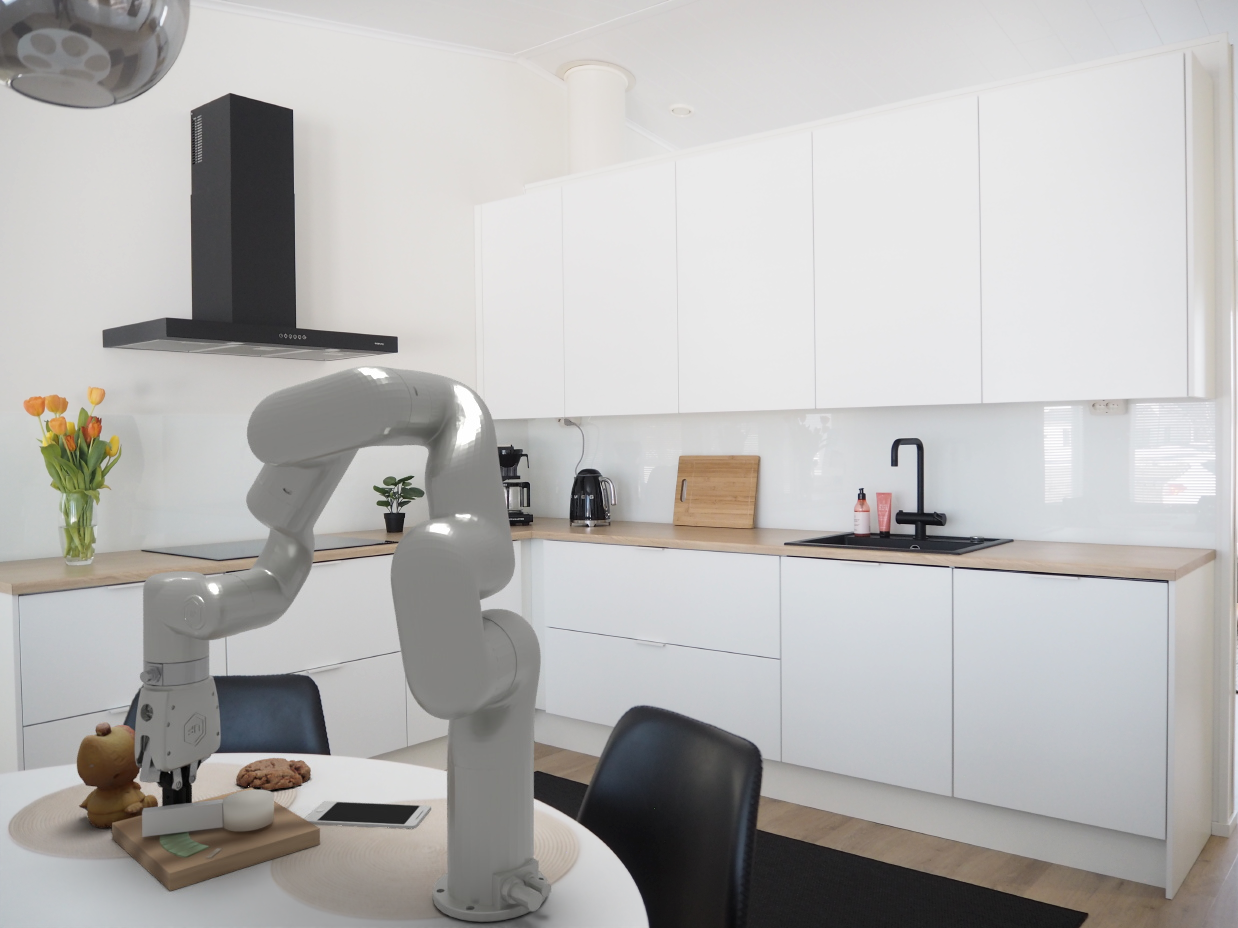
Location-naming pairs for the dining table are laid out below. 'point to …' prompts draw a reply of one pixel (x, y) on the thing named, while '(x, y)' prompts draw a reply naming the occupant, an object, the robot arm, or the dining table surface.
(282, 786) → the cookie
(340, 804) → the smartphone
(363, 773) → the dining table surface
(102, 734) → the figurine
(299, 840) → the tuner board
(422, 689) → the robot arm
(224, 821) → the peg dial
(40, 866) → the dining table surface
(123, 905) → the dining table surface
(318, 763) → the dining table surface
